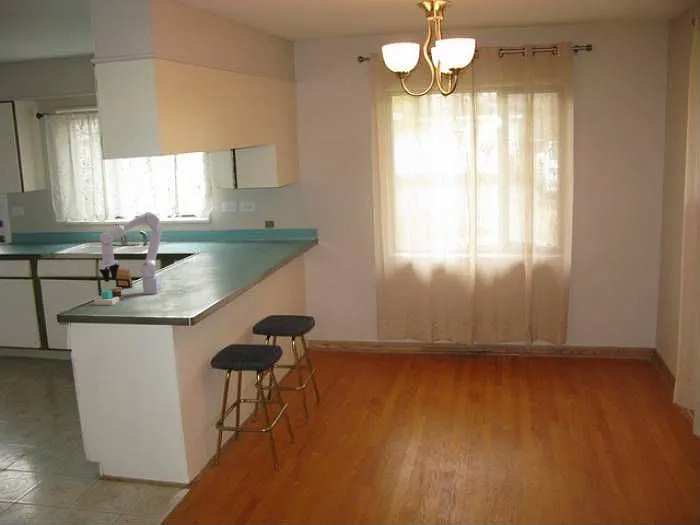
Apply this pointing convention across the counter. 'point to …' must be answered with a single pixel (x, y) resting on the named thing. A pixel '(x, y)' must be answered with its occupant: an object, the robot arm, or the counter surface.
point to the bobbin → (117, 292)
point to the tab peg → (106, 294)
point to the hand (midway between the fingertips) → (110, 279)
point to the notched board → (106, 301)
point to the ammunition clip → (123, 278)
